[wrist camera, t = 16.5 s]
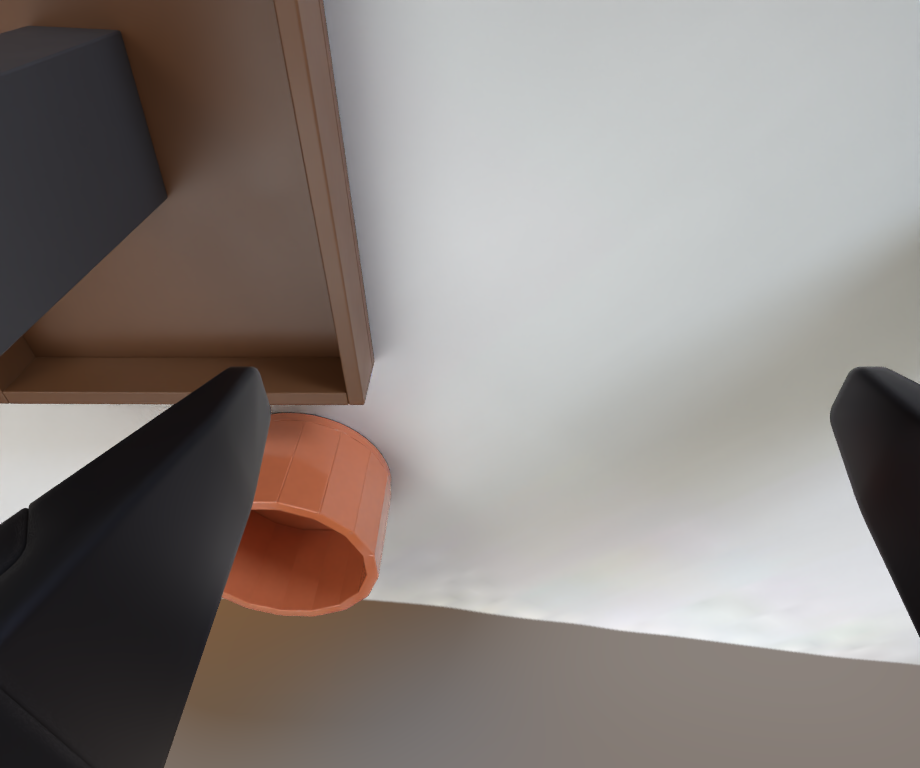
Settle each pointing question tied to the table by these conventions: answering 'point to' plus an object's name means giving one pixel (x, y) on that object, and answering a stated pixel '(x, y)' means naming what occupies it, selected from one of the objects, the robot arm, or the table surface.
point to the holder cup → (312, 520)
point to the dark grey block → (66, 164)
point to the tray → (215, 218)
